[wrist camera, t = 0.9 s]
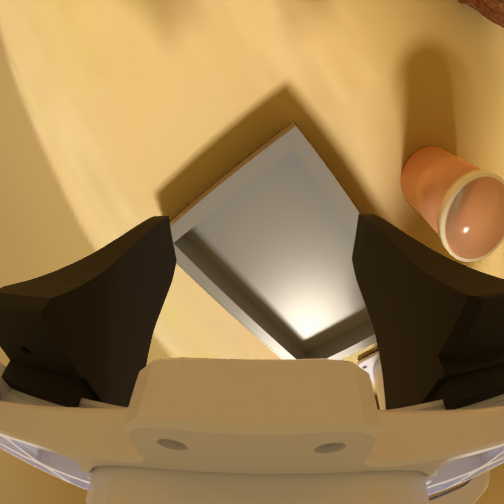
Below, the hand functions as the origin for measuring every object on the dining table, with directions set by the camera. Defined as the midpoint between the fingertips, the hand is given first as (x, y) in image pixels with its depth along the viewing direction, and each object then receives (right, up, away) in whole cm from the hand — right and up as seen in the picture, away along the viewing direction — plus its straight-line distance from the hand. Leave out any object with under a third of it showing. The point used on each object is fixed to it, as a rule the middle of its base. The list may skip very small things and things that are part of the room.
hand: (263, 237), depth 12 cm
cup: (+13, +5, +8) cm, 15 cm away
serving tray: (+3, -2, +12) cm, 13 cm away
